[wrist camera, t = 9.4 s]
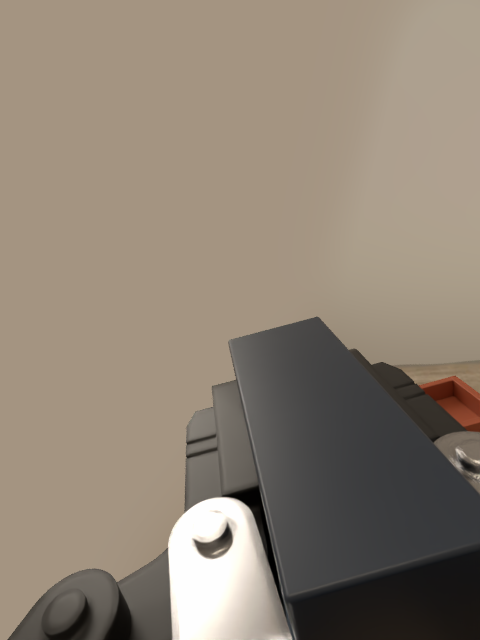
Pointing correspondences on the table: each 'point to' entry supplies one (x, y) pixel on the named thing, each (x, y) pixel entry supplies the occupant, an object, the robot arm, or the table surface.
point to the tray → (456, 400)
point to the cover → (355, 496)
